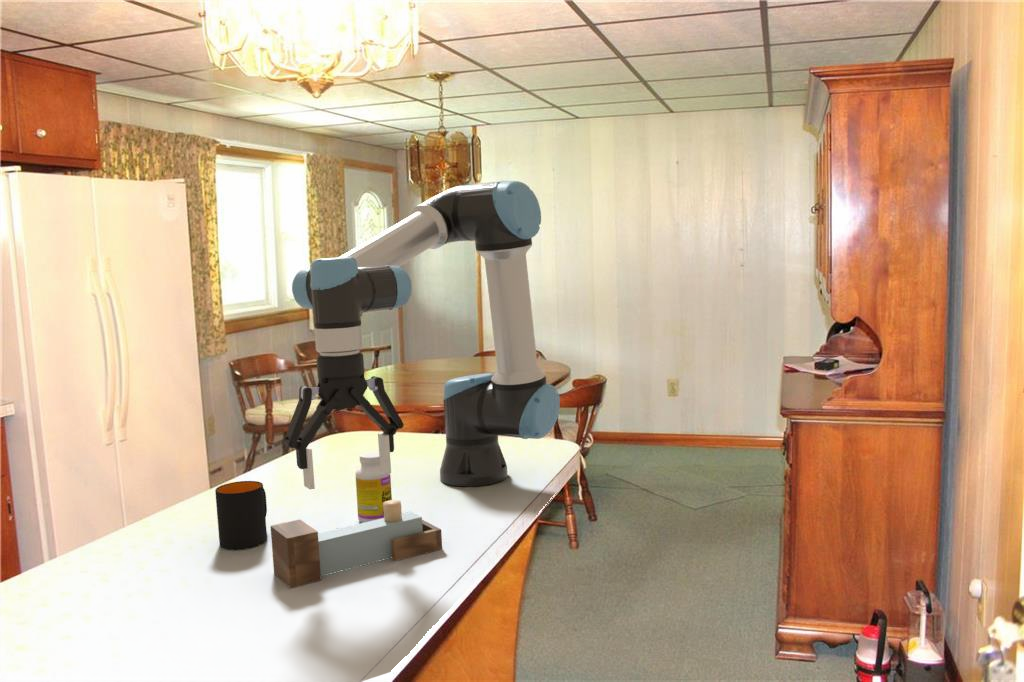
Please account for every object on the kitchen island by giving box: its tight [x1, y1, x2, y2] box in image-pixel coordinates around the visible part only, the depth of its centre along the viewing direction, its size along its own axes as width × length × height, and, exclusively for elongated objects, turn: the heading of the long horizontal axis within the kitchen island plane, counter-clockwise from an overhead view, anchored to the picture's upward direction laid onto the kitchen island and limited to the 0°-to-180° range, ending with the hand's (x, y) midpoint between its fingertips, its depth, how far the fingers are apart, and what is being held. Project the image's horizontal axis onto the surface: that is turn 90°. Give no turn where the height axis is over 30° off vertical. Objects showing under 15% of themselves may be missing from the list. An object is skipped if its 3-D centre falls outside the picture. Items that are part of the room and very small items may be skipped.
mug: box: [214, 480, 268, 551], centre depth 160 cm, size 8×12×10 cm
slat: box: [318, 499, 423, 577], centre depth 147 cm, size 19×4×9 cm, turn 124°
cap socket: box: [270, 519, 322, 589], centre depth 141 cm, size 5×8×8 cm, turn 33°
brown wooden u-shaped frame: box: [391, 519, 443, 562], centre depth 152 cm, size 9×8×4 cm
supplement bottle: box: [355, 451, 393, 523], centre depth 169 cm, size 7×7×13 cm
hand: (348, 479), depth 145 cm, fingers open, 13 cm apart
